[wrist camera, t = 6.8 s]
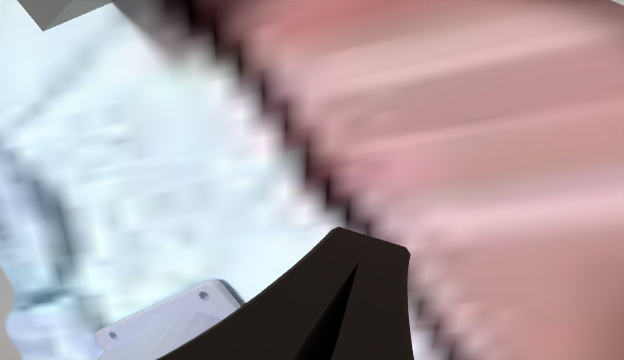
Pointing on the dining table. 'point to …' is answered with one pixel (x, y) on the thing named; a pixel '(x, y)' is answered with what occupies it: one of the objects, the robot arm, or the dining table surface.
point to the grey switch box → (59, 10)
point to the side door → (619, 1)
